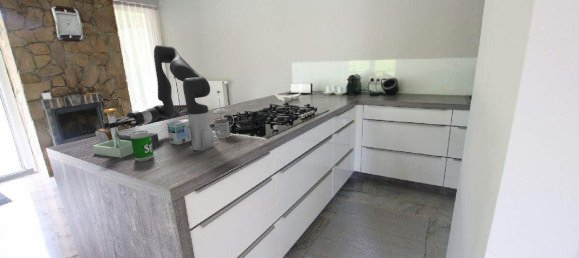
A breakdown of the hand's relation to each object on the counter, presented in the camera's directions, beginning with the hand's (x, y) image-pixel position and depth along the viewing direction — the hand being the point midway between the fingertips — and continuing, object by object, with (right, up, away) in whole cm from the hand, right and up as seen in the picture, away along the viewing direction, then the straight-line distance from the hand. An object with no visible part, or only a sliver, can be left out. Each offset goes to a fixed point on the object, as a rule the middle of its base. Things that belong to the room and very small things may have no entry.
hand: (107, 125), depth 126 cm
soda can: (+20, -15, -5) cm, 25 cm away
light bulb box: (+27, -8, +19) cm, 34 cm away
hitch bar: (+6, -10, +15) cm, 19 cm away
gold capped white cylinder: (+1, -11, +6) cm, 12 cm away
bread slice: (-13, -10, +18) cm, 24 cm away
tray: (+2, -12, +6) cm, 14 cm away
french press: (+47, -5, +27) cm, 55 cm away
